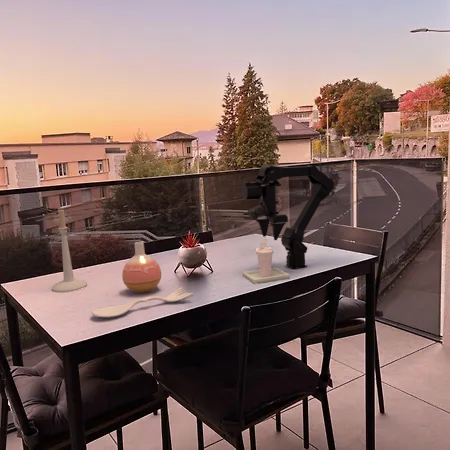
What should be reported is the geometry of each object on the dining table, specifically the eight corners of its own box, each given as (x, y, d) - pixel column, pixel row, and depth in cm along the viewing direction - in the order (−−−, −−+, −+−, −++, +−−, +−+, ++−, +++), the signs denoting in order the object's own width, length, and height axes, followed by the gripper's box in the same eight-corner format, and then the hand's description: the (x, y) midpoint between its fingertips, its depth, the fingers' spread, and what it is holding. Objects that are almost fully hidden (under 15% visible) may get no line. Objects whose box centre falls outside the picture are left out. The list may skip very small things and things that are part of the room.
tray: (275, 271, 182) (275, 267, 181) (289, 278, 170) (289, 274, 170) (242, 276, 177) (242, 272, 177) (254, 284, 166) (254, 279, 166)
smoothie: (273, 278, 170) (271, 240, 168) (255, 278, 172) (254, 241, 169) (275, 273, 176) (273, 237, 174) (258, 273, 178) (256, 237, 176)
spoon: (195, 302, 151) (194, 292, 150) (96, 325, 135) (95, 313, 135) (183, 295, 158) (182, 285, 158) (89, 316, 143) (87, 305, 143)
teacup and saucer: (272, 251, 218) (272, 243, 217) (255, 252, 218) (255, 244, 217) (271, 248, 226) (271, 239, 226) (255, 248, 227) (254, 240, 226)
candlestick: (49, 286, 178) (39, 209, 174) (82, 280, 185) (74, 205, 180) (55, 294, 167) (45, 212, 163) (91, 287, 174) (82, 208, 169)
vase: (117, 291, 167) (112, 243, 165) (151, 283, 175) (147, 237, 172) (134, 299, 156) (129, 248, 154) (169, 290, 164) (165, 241, 161)
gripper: (239, 198, 184) (241, 236, 186) (261, 202, 167) (262, 244, 169) (264, 196, 188) (265, 234, 190) (288, 199, 171) (289, 241, 173)
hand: (269, 238), depth 181 cm, fingers open, 9 cm apart
